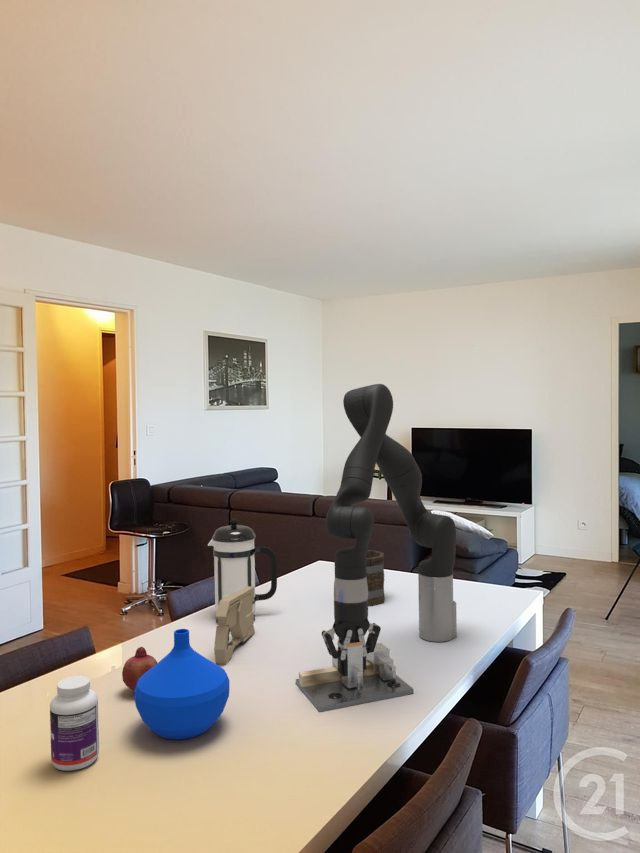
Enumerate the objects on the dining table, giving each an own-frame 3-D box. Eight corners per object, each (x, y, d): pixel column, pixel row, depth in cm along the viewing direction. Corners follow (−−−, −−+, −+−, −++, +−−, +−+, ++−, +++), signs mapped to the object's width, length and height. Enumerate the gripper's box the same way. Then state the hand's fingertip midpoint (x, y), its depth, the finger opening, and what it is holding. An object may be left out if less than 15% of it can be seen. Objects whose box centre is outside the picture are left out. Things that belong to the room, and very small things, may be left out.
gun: (225, 666, 158) (226, 604, 159) (212, 666, 159) (213, 603, 160) (255, 640, 182) (255, 586, 183) (244, 639, 183) (244, 585, 183)
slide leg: (348, 671, 151) (347, 629, 151) (368, 689, 141) (367, 644, 141) (332, 673, 150) (331, 631, 149) (351, 692, 140) (350, 647, 140)
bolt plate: (382, 668, 156) (382, 663, 156) (413, 693, 142) (413, 688, 142) (295, 683, 148) (295, 678, 148) (319, 711, 134) (319, 706, 134)
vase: (185, 761, 116) (182, 655, 115) (114, 735, 126) (112, 637, 125) (249, 719, 131) (247, 625, 131) (182, 698, 141) (180, 611, 140)
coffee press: (234, 630, 184) (232, 524, 183) (200, 618, 195) (198, 518, 194) (279, 615, 197) (277, 516, 196) (244, 604, 208) (242, 511, 207)
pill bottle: (59, 750, 120) (57, 673, 120) (104, 748, 121) (102, 671, 121) (44, 775, 112) (42, 692, 112) (92, 772, 113) (90, 690, 112)
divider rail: (386, 667, 154) (386, 657, 154) (391, 671, 151) (391, 661, 151) (298, 683, 146) (298, 672, 146) (302, 687, 144) (302, 676, 143)
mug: (356, 592, 220) (356, 548, 220) (393, 597, 213) (392, 552, 213) (326, 608, 203) (325, 560, 203) (365, 614, 196) (364, 565, 196)
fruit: (120, 688, 147) (119, 644, 147) (156, 681, 150) (156, 638, 150) (124, 702, 140) (123, 656, 139) (163, 695, 143) (162, 650, 143)
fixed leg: (381, 665, 154) (380, 642, 154) (402, 682, 144) (402, 658, 144) (365, 668, 153) (365, 645, 153) (386, 685, 143) (386, 661, 143)
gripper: (372, 588, 150) (373, 662, 150) (314, 595, 145) (316, 672, 145) (387, 597, 143) (388, 674, 143) (327, 605, 138) (328, 685, 138)
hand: (352, 673), depth 144 cm, fingers closed on slide leg, 3 cm apart
